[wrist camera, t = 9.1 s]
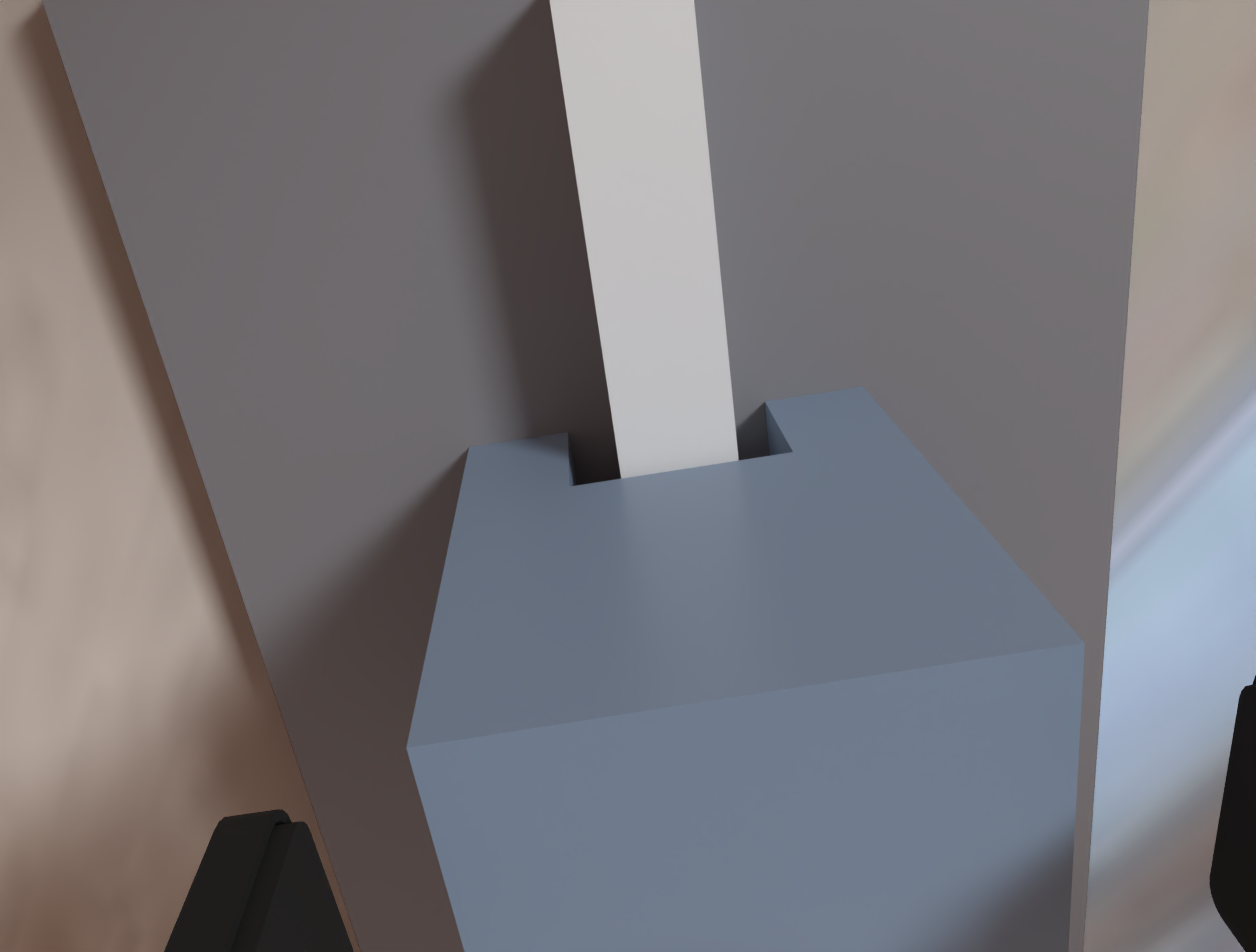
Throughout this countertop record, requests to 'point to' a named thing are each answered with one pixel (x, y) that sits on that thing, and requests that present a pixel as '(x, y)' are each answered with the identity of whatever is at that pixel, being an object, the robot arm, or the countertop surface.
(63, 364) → the countertop surface
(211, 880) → the robot arm
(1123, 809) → the countertop surface
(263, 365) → the rail plate
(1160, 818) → the countertop surface
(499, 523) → the block
